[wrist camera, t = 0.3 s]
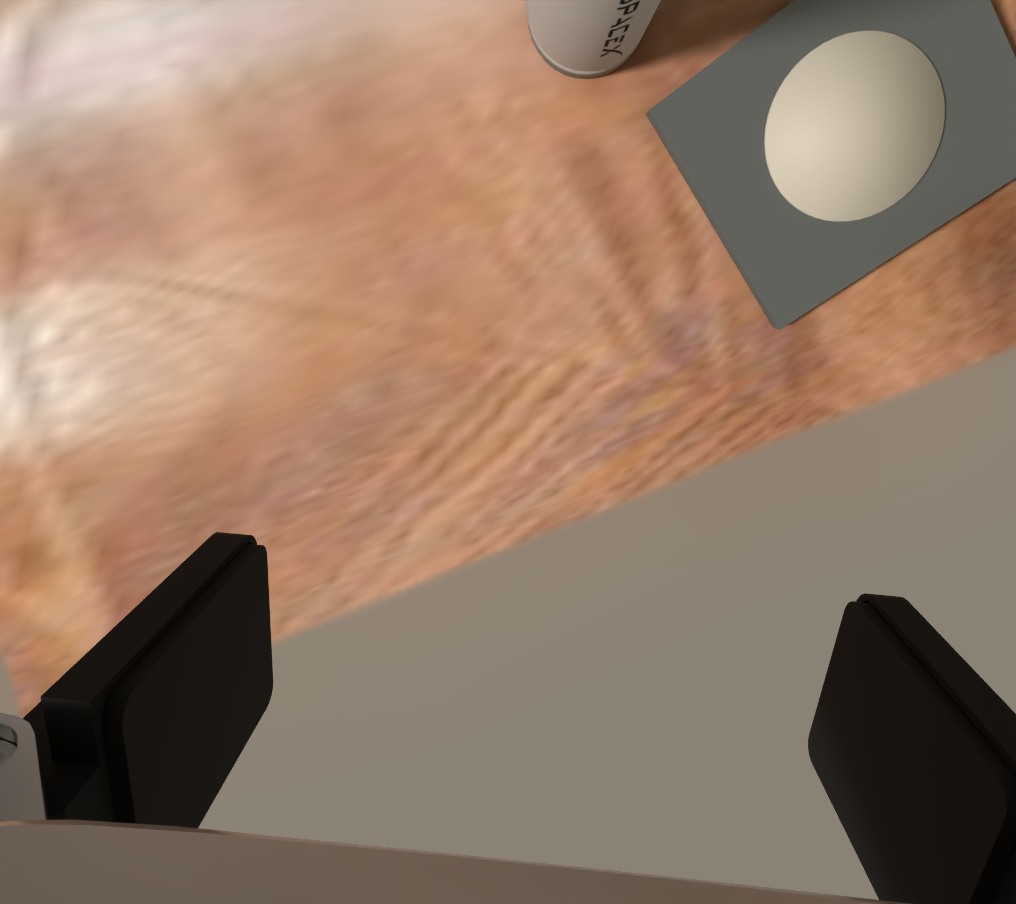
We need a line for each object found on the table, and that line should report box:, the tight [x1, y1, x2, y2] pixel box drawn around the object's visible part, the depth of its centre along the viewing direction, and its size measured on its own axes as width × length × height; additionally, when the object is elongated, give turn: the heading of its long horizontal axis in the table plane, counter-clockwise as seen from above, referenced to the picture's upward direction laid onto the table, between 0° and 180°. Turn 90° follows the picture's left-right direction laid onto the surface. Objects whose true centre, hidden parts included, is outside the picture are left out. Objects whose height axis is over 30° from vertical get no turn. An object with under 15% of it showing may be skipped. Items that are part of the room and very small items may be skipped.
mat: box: [646, 0, 1016, 330], centre depth 35 cm, size 16×14×1 cm
